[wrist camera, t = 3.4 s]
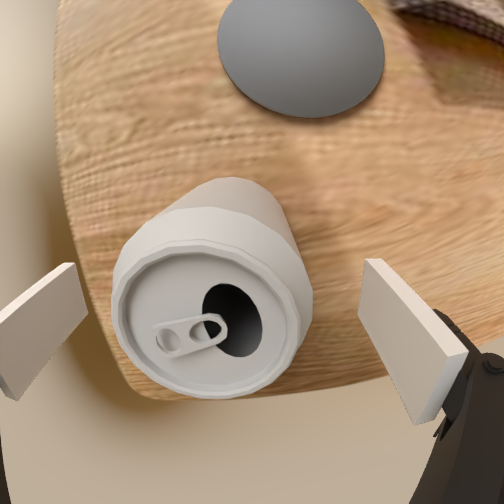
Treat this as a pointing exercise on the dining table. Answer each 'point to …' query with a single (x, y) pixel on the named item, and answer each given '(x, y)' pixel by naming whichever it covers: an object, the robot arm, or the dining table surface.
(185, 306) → the can
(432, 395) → the robot arm
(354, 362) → the dining table surface
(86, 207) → the dining table surface
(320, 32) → the coaster
